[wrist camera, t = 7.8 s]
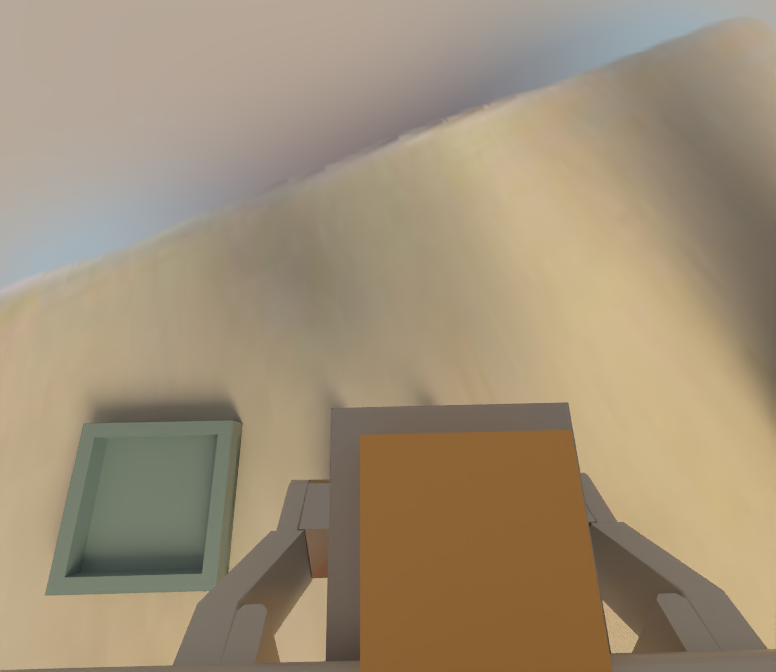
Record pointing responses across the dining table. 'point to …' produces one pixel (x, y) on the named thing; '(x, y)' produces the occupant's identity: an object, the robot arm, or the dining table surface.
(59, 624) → the dining table surface
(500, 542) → the grey pillar orange cap
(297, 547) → the robot arm
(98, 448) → the tray
